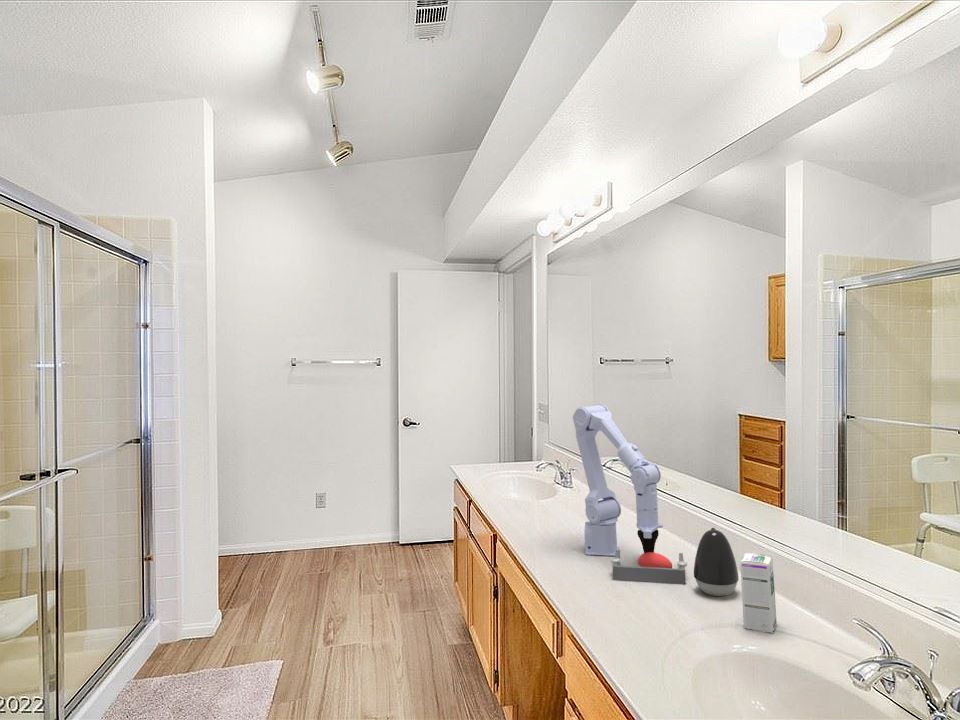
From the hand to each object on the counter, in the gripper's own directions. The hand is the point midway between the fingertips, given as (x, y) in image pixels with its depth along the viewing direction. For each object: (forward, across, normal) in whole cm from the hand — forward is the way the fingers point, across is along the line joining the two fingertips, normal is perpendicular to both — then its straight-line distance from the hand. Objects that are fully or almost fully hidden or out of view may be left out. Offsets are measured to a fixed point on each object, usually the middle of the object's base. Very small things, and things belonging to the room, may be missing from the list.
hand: (649, 557), depth 167 cm
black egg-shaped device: (+3, -17, -16) cm, 23 cm away
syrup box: (+3, -35, -23) cm, 42 cm away
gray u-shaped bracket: (+2, -6, 0) cm, 6 cm away
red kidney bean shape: (+3, -4, -1) cm, 5 cm away
